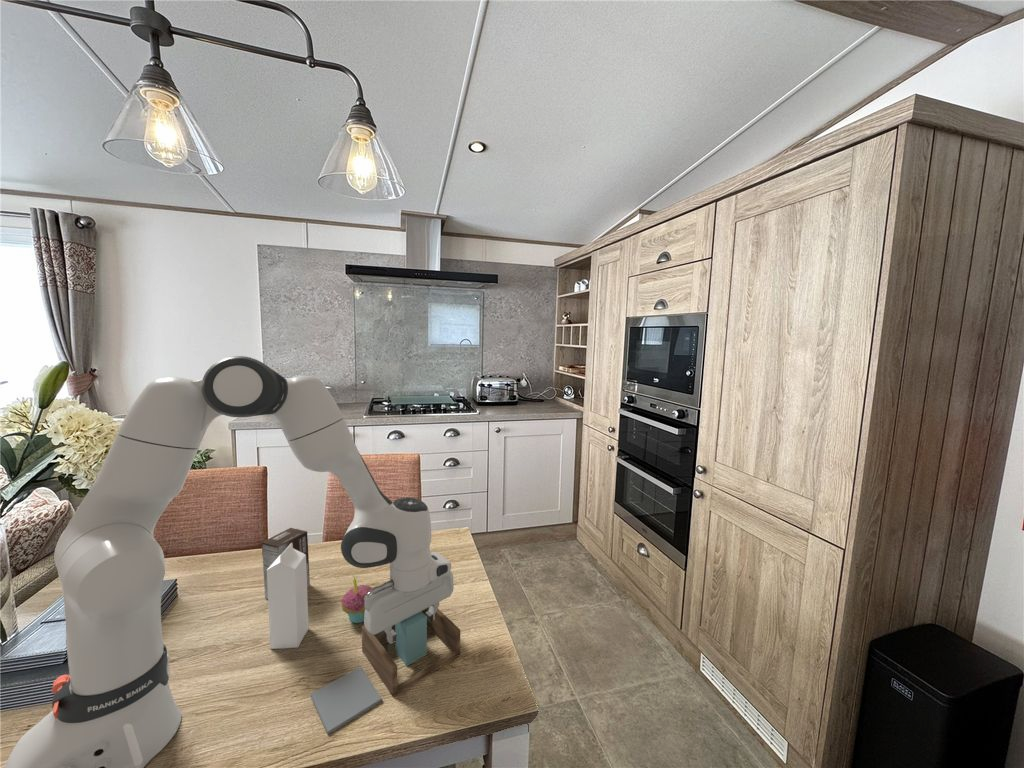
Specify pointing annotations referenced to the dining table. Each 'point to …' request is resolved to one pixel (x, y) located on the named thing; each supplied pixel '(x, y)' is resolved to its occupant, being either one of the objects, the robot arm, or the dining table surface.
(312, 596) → the dining table surface
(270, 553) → the coffee box
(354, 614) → the cupcake
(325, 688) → the mat
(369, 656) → the crate
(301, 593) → the milk
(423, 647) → the block
